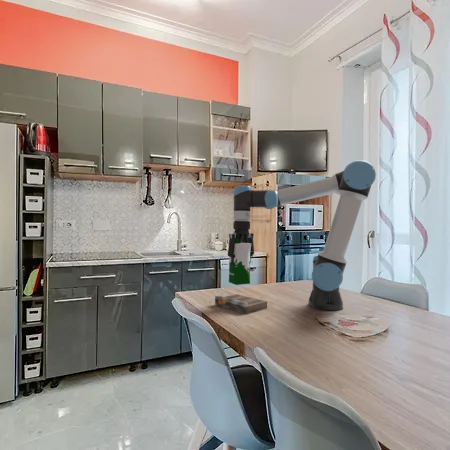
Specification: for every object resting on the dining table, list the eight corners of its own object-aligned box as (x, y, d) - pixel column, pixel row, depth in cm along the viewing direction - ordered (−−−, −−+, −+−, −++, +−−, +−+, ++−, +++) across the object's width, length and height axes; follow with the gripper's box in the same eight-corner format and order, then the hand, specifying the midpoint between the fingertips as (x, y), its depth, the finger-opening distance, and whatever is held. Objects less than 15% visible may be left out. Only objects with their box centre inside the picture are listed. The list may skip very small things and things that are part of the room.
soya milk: (225, 282, 149) (226, 238, 148) (243, 280, 153) (243, 237, 152) (235, 285, 141) (235, 239, 141) (253, 283, 145) (253, 238, 145)
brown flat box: (267, 308, 145) (267, 298, 145) (244, 314, 135) (244, 303, 135) (236, 300, 159) (236, 291, 159) (214, 305, 149) (214, 295, 149)
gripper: (231, 220, 137) (230, 275, 137) (262, 220, 151) (262, 270, 152) (219, 220, 142) (218, 272, 143) (250, 220, 157) (249, 268, 157)
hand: (240, 271), depth 147 cm, fingers open, 7 cm apart
